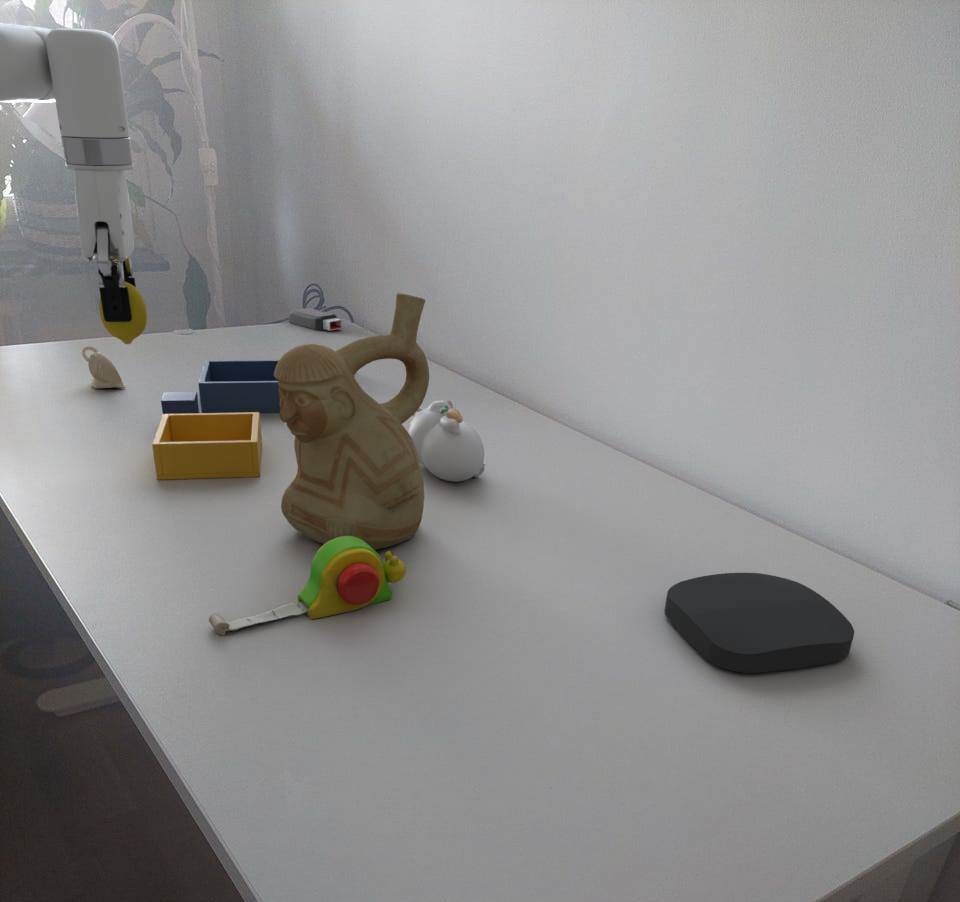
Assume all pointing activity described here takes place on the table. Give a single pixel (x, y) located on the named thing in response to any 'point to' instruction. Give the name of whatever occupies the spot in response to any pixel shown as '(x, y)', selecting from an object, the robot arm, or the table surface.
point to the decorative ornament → (102, 370)
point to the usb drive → (315, 319)
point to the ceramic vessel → (354, 437)
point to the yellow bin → (208, 446)
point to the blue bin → (239, 386)
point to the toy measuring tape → (333, 584)
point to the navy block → (179, 403)
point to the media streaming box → (758, 622)
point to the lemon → (136, 325)
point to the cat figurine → (446, 442)
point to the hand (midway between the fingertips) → (122, 314)
